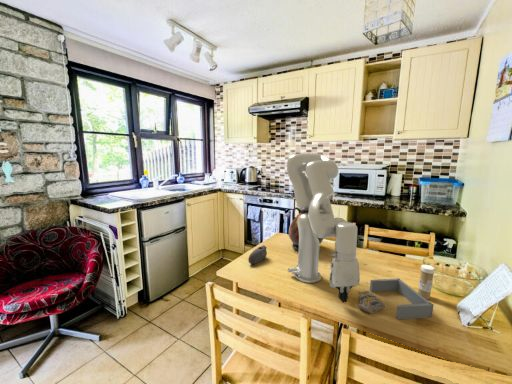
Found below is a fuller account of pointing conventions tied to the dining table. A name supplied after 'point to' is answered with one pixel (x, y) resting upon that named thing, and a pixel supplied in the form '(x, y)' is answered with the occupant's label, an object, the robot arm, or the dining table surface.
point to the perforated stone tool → (257, 255)
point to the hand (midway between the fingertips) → (342, 300)
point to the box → (406, 311)
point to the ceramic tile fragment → (370, 302)
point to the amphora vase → (295, 231)
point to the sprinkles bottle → (426, 281)
